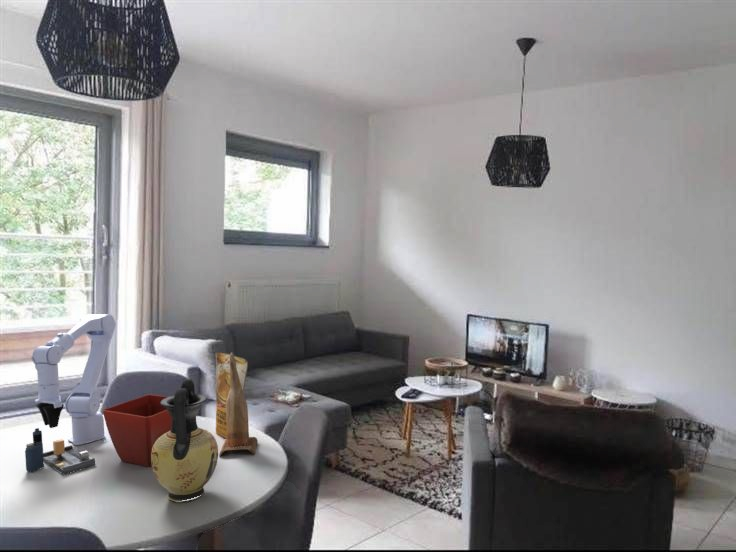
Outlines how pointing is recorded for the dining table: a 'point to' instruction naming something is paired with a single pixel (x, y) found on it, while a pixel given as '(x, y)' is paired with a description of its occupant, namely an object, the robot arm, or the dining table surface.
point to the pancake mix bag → (226, 387)
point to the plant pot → (137, 427)
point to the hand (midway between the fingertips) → (51, 425)
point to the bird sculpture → (237, 415)
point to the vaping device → (35, 452)
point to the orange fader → (59, 447)
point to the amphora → (184, 447)
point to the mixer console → (69, 460)
